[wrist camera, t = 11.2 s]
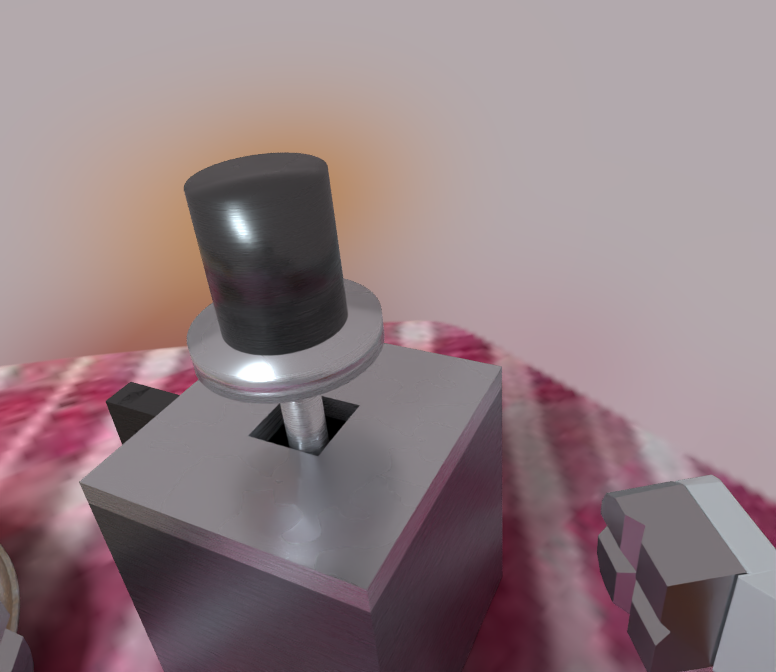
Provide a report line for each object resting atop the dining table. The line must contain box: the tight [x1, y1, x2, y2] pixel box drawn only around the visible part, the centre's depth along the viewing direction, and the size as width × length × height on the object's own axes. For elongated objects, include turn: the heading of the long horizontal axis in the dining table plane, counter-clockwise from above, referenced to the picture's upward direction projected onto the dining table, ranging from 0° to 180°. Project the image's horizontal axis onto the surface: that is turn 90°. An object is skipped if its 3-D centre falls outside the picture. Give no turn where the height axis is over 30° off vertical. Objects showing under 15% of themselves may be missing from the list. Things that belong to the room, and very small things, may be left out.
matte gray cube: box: [79, 343, 502, 672], centre depth 24 cm, size 12×9×10 cm
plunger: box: [184, 153, 384, 456], centre depth 20 cm, size 5×5×15 cm
